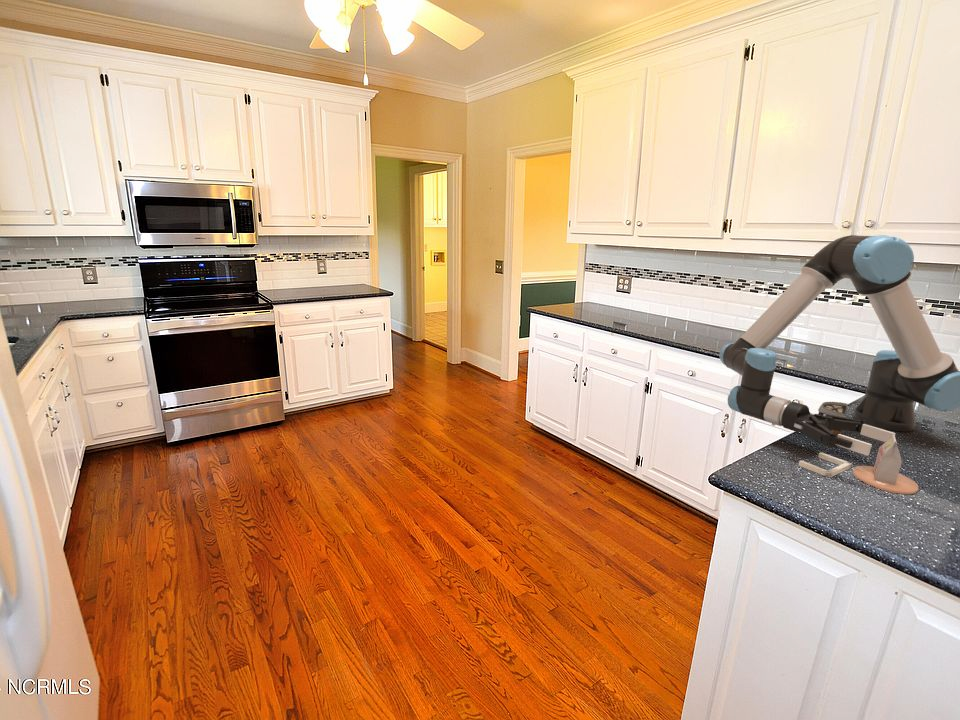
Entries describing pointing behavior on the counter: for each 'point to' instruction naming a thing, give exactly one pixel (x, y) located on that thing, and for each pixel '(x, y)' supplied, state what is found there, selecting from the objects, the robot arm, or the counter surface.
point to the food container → (834, 411)
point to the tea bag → (887, 462)
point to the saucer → (901, 486)
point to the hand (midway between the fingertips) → (882, 444)
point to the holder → (828, 473)
